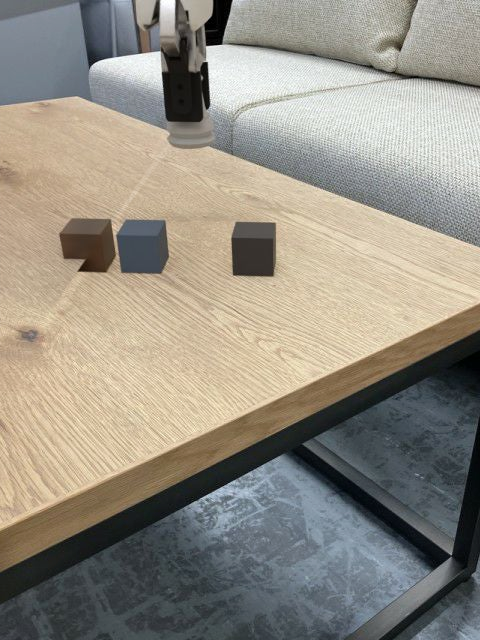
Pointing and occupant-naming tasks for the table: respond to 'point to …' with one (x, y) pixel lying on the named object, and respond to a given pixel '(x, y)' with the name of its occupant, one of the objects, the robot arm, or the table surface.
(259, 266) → the block
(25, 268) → the table surface
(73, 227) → the block
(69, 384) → the table surface
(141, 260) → the block
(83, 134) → the table surface
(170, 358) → the table surface
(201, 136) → the rook chess piece
